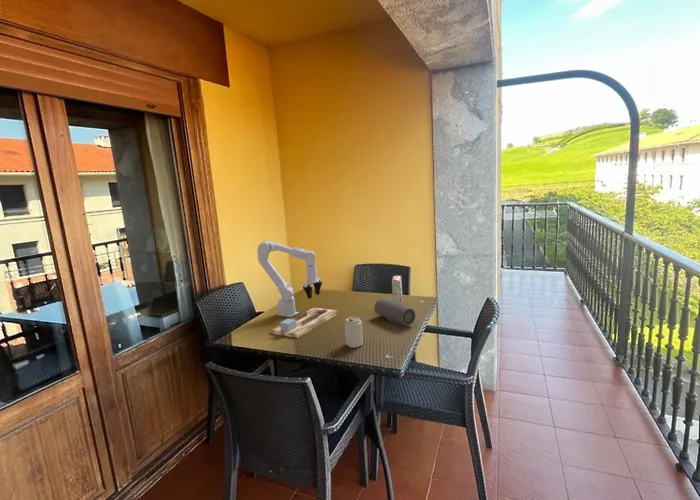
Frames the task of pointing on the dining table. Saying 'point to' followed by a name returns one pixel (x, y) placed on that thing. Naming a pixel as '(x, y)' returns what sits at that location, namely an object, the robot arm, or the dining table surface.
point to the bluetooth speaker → (395, 312)
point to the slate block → (288, 325)
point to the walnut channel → (306, 319)
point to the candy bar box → (397, 289)
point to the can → (353, 332)
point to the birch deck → (300, 330)
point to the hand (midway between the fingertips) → (313, 296)
